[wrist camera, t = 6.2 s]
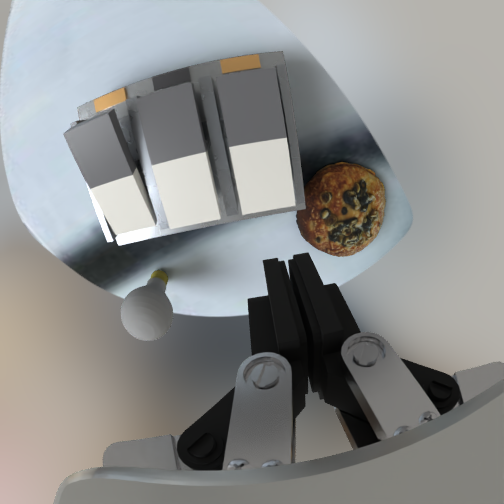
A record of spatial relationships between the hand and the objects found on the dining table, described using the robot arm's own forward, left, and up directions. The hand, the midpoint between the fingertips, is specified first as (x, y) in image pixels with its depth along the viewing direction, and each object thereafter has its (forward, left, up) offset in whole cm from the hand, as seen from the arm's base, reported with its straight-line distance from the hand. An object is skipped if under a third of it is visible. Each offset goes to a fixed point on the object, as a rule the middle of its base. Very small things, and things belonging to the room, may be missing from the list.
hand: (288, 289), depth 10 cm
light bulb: (+10, -13, -20) cm, 25 cm away
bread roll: (+6, +9, -20) cm, 22 cm away
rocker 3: (-4, 0, -11) cm, 12 cm away
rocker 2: (-4, -5, -11) cm, 13 cm away
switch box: (-4, -5, -19) cm, 20 cm away
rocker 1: (-4, -11, -11) cm, 16 cm away
